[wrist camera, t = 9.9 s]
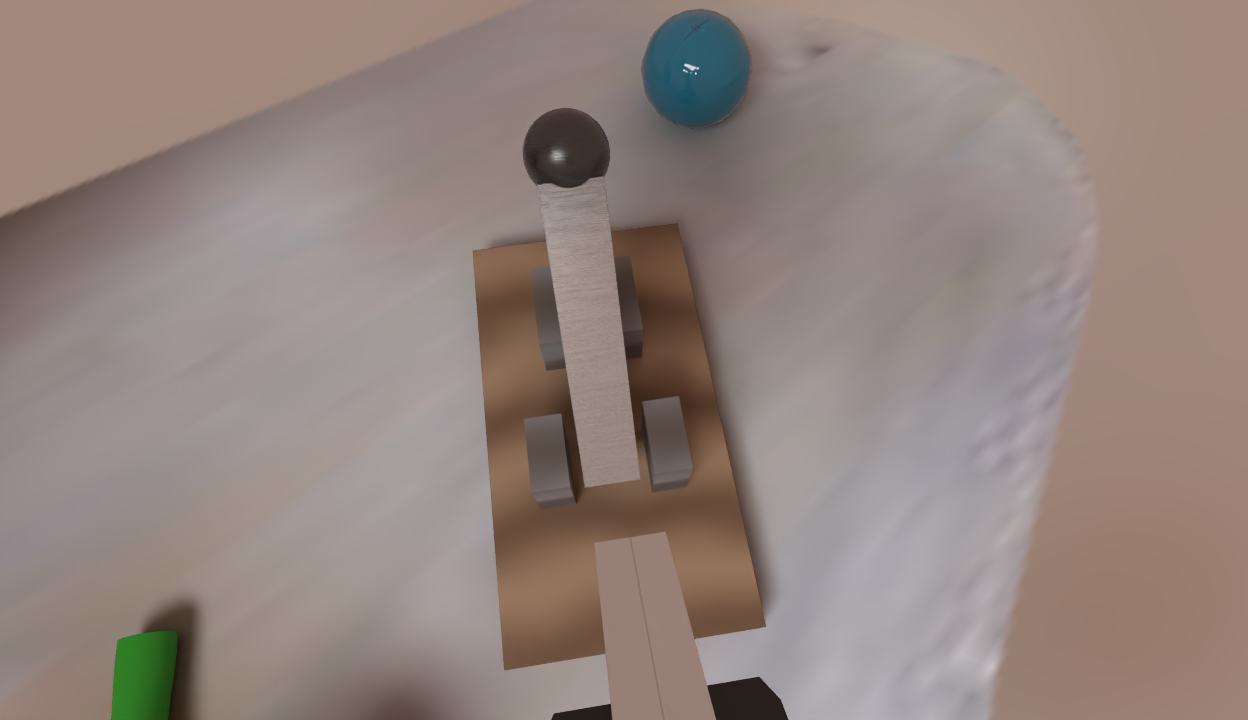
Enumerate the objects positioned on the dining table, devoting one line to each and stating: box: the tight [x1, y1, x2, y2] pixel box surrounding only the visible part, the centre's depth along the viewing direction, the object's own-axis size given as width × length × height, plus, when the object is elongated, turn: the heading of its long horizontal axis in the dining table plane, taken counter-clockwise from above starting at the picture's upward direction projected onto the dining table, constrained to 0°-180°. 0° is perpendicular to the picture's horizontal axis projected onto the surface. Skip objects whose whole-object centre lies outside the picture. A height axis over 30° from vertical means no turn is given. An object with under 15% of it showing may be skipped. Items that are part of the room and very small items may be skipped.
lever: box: [523, 108, 640, 488], centre depth 34 cm, size 4×4×19 cm
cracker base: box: [473, 224, 766, 670], centre depth 39 cm, size 26×14×9 cm, turn 9°
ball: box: [641, 9, 752, 129], centre depth 49 cm, size 8×8×8 cm
